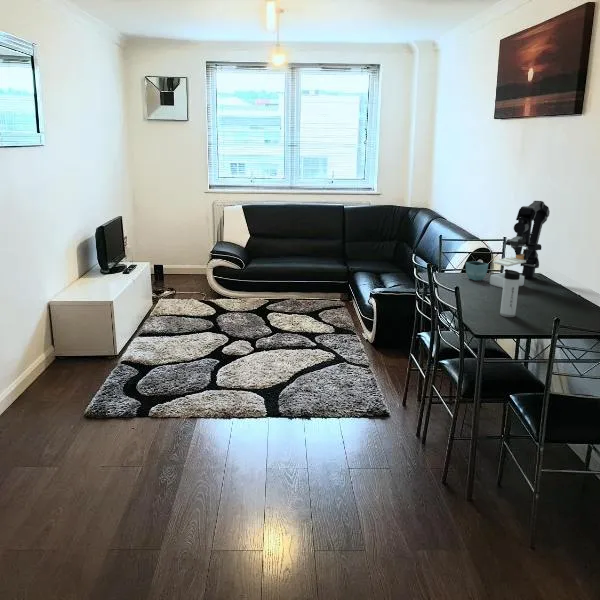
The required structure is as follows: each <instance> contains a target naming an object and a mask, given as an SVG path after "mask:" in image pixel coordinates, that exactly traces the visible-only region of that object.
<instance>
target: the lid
mask: <svg viewBox="0 0 600 600" xmlns="http://www.w3.org/2000/svg"><path fill="white" fill-rule="evenodd" d="M525 262H526V260H524V254H523V253H521V254H518V255H516V254H515V257H513V256H509V257H504V258H499V259H496V260H493V261H492V263H493V264H496V265H500V266H503V267H507V268H509V267H513V266H515V265H521V263H525Z"/></svg>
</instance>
